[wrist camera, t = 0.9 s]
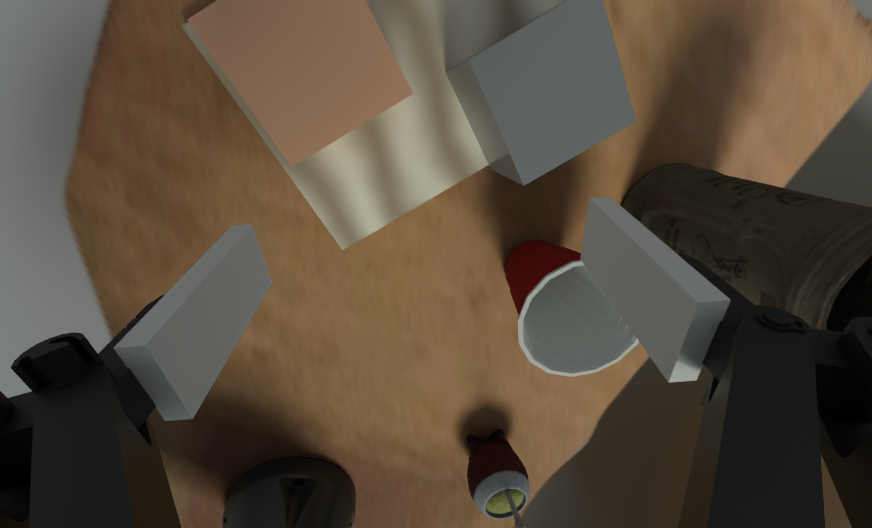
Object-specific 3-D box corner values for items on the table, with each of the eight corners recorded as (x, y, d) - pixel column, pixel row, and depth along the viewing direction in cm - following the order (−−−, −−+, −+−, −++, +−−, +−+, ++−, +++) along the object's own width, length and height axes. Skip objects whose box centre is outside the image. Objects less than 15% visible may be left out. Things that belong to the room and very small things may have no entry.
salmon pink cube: (309, 153, 31) (291, 167, 24) (235, 43, 28) (186, 19, 20) (402, 97, 31) (413, 93, 24) (339, -23, 27) (328, -71, 20)
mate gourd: (487, 471, 51) (530, 604, 37) (443, 451, 48) (472, 586, 35) (524, 435, 50) (583, 559, 36) (480, 411, 47) (526, 536, 33)
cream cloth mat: (343, 245, 36) (342, 250, 35) (188, 29, 28) (181, 26, 27) (603, 93, 35) (611, 93, 33) (520, -182, 26) (527, -195, 25)
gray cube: (490, 169, 34) (524, 185, 27) (445, 72, 31) (469, 60, 23) (578, 118, 34) (635, 120, 26) (542, 13, 30) (597, -18, 23)
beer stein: (607, 179, 38) (827, 267, 20) (706, 138, 38) (1011, 190, 20) (623, 298, 45) (795, 439, 27) (706, 263, 45) (930, 382, 27)
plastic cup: (466, 239, 38) (505, 292, 27) (565, 200, 38) (645, 237, 27) (494, 324, 42) (538, 399, 31) (583, 289, 42) (658, 352, 31)
